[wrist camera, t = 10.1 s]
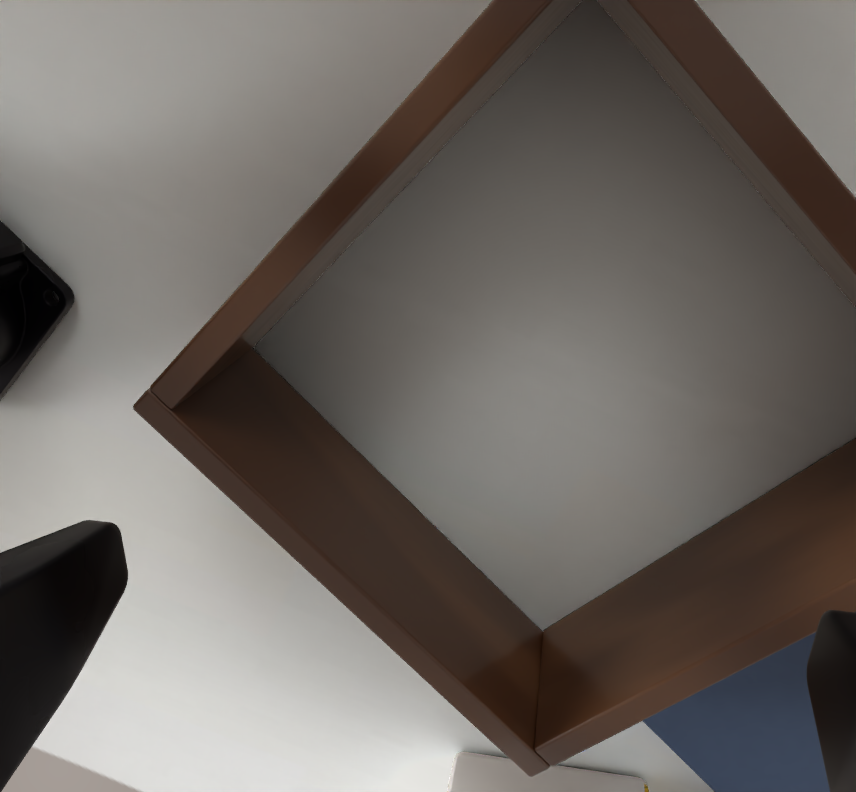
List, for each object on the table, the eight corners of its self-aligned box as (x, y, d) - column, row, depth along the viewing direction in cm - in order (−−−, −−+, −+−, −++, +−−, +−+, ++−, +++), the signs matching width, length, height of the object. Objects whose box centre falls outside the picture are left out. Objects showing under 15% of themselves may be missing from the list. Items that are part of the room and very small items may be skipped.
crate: (540, 655, 25) (530, 779, 21) (219, 345, 23) (129, 408, 18) (974, 396, 19) (1096, 491, 14) (594, -63, 17) (597, -119, 12)
